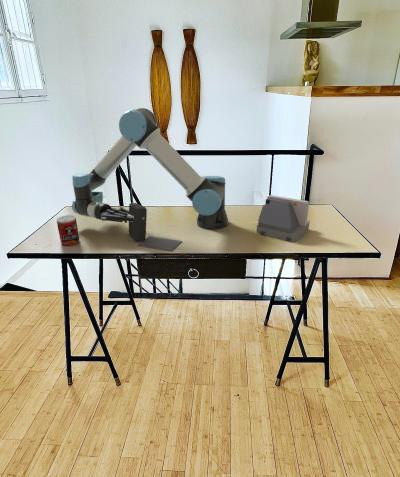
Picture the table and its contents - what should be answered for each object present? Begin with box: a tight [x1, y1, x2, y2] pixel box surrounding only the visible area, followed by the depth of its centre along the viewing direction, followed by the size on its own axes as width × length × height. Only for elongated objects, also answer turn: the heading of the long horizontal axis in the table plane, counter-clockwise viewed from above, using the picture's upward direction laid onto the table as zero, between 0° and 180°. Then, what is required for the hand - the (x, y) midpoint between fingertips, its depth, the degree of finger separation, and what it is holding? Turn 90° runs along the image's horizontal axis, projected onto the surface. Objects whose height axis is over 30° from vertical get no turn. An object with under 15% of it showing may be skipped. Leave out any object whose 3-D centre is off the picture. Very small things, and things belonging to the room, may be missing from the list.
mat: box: [136, 235, 183, 252], centre depth 146 cm, size 16×10×1 cm, turn 68°
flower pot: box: [92, 191, 104, 203], centre depth 187 cm, size 9×9×9 cm
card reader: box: [128, 202, 148, 243], centre depth 147 cm, size 9×4×15 cm, turn 41°
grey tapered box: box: [256, 194, 311, 243], centre depth 155 cm, size 21×21×15 cm
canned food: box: [56, 215, 80, 247], centre depth 147 cm, size 8×8×11 cm
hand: (140, 220), depth 145 cm, fingers closed
